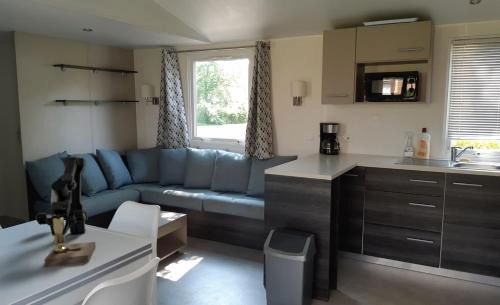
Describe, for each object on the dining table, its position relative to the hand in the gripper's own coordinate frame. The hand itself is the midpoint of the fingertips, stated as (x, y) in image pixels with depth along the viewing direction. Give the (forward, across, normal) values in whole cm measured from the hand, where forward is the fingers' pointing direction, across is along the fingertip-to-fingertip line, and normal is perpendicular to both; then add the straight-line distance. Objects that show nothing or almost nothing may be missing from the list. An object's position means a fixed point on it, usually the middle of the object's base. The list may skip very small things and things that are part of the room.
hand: (58, 235), depth 154 cm
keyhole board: (+7, +4, +8) cm, 11 cm away
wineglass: (-25, -11, +40) cm, 48 cm away
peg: (+4, 0, +6) cm, 7 cm away
